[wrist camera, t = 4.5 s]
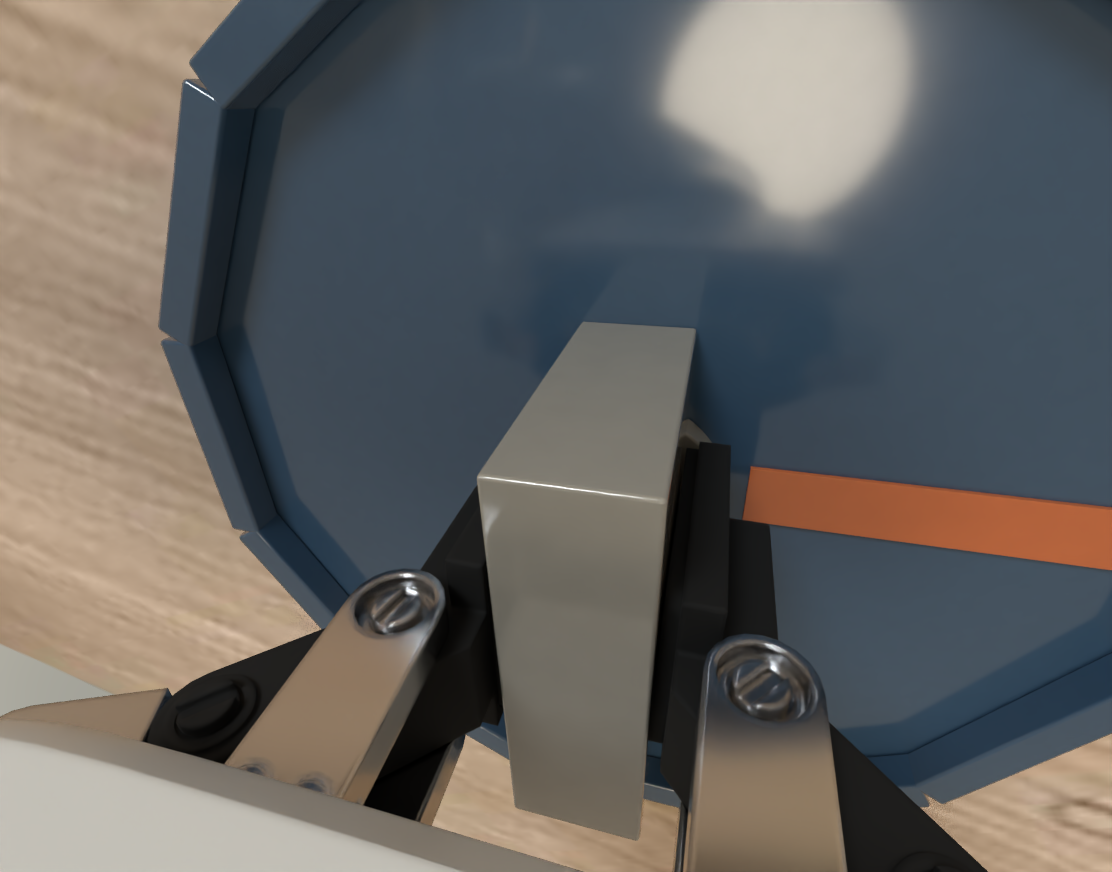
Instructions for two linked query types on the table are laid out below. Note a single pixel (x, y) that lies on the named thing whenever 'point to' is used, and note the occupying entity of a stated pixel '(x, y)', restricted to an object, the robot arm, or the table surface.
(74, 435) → the table surface
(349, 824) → the robot arm
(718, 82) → the blue rotary dial
